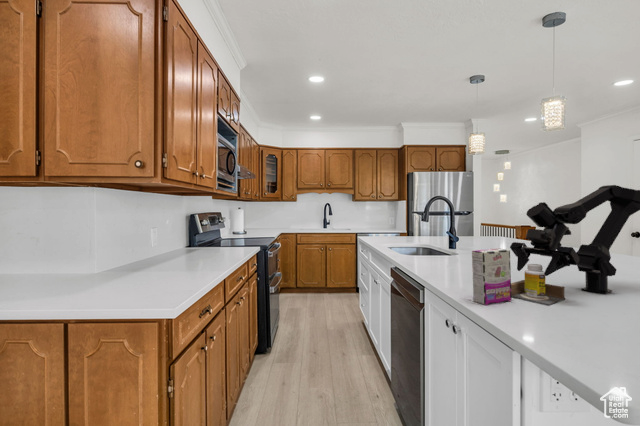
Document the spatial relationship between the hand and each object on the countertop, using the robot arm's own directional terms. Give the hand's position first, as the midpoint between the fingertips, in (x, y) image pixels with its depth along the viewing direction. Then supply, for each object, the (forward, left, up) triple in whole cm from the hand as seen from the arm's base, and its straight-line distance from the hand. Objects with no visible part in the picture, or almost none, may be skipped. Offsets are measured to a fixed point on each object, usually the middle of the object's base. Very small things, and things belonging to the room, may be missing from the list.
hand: (531, 272), depth 98 cm
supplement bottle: (-2, 0, -8) cm, 8 cm away
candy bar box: (+13, -6, -9) cm, 16 cm away
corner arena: (-2, 0, -9) cm, 9 cm away
